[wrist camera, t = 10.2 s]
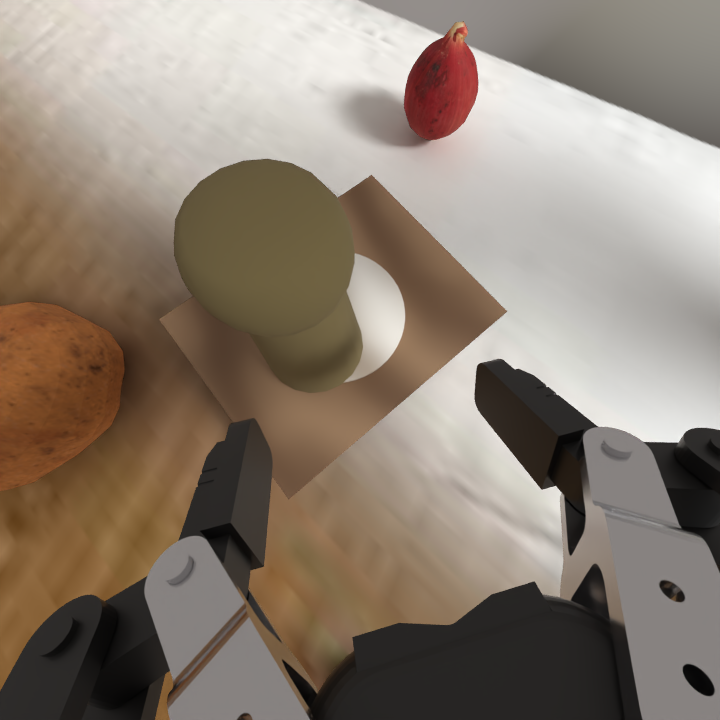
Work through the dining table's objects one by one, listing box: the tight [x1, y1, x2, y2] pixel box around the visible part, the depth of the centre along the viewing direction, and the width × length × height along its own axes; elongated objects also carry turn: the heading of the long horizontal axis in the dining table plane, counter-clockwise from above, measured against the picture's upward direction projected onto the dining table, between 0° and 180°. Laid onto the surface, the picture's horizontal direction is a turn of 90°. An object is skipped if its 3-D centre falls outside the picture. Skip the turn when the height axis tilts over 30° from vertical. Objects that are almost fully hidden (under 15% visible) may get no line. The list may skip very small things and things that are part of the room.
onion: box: [404, 21, 478, 140], centre depth 24 cm, size 6×6×8 cm
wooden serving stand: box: [159, 175, 507, 499], centre depth 21 cm, size 18×14×5 cm
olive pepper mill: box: [174, 159, 363, 393], centre depth 13 cm, size 6×6×11 cm
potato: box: [0, 302, 125, 491], centre depth 18 cm, size 9×11×8 cm
